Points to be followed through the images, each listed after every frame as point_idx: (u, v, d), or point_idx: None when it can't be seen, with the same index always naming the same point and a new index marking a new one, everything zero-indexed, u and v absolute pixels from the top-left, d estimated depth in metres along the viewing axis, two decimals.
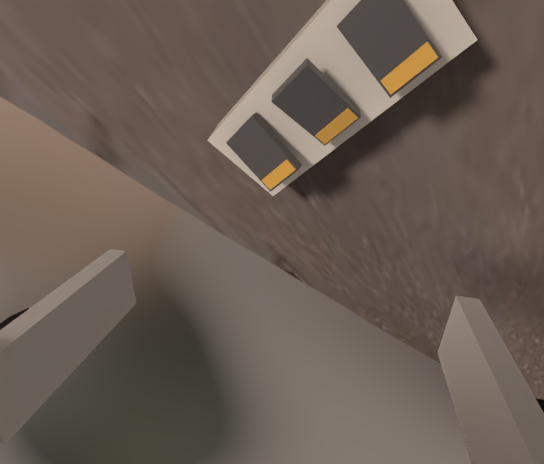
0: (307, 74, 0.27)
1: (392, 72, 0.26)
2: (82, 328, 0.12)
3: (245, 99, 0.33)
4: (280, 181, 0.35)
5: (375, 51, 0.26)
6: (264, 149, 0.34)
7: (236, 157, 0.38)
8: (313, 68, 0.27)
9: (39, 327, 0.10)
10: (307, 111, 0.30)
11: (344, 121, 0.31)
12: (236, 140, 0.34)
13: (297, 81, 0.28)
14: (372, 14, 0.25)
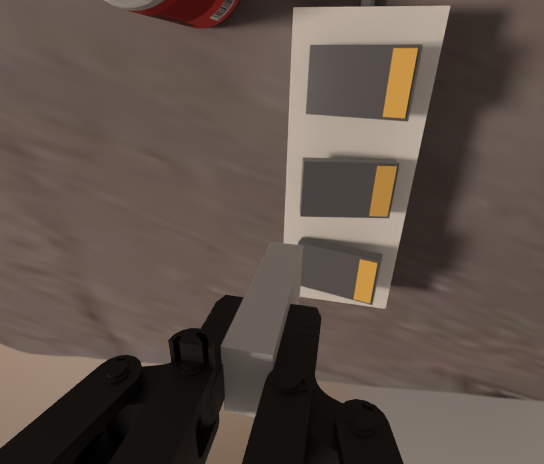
0: (311, 168, 0.24)
1: (386, 100, 0.22)
2: None
3: (285, 233, 0.30)
4: (372, 286, 0.28)
5: (354, 100, 0.23)
6: (331, 265, 0.28)
7: (318, 292, 0.32)
8: (313, 160, 0.25)
9: None
10: (341, 199, 0.26)
11: (386, 180, 0.25)
12: (302, 275, 0.30)
13: (307, 181, 0.25)
14: (325, 78, 0.23)
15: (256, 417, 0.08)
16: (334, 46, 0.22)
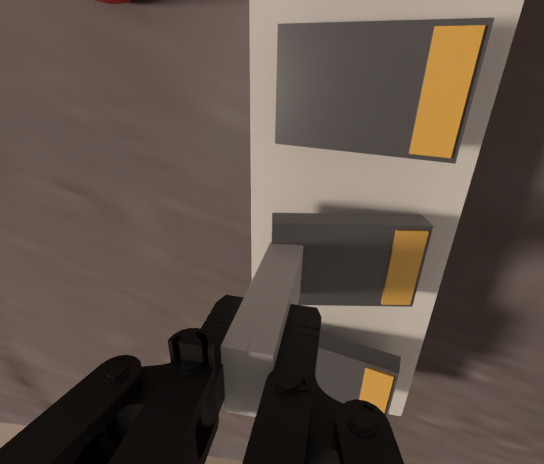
0: (285, 234, 0.15)
1: (417, 125, 0.12)
2: None
3: None
4: (385, 407, 0.18)
5: (357, 122, 0.13)
6: (321, 368, 0.19)
7: None
8: (288, 220, 0.15)
9: None
10: (335, 279, 0.16)
11: (409, 252, 0.15)
12: None
13: None
14: (307, 83, 0.13)
15: (257, 417, 0.08)
16: (321, 25, 0.12)
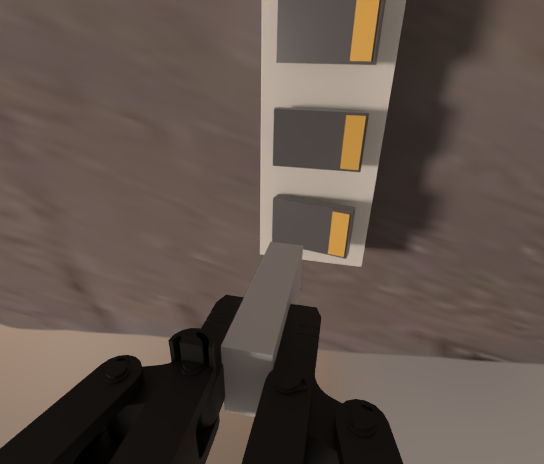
0: (281, 116, 0.25)
1: (353, 44, 0.22)
2: None
3: (261, 190, 0.31)
4: (345, 239, 0.28)
5: (322, 45, 0.23)
6: (305, 219, 0.29)
7: None
8: (283, 108, 0.25)
9: None
10: (311, 149, 0.26)
11: (355, 130, 0.25)
12: (278, 232, 0.30)
13: (278, 129, 0.26)
14: (294, 24, 0.23)
15: (256, 417, 0.08)
16: None
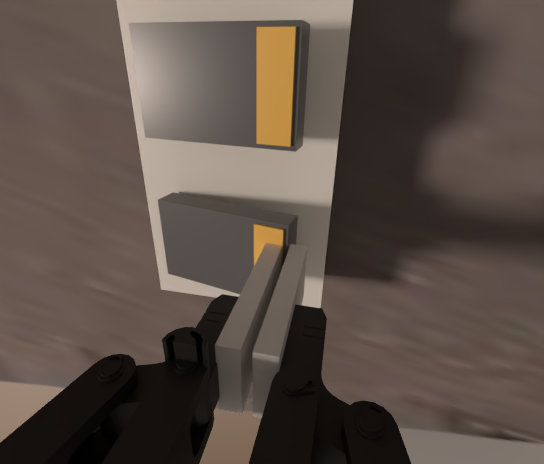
0: (143, 38, 0.13)
1: None
2: (267, 313, 0.13)
3: (147, 187, 0.18)
4: None
5: None
6: (213, 237, 0.16)
7: None
8: (149, 23, 0.13)
9: (258, 309, 0.11)
10: (202, 104, 0.13)
11: (277, 62, 0.12)
12: (175, 257, 0.18)
13: (142, 66, 0.14)
14: None
15: (263, 418, 0.08)
16: None
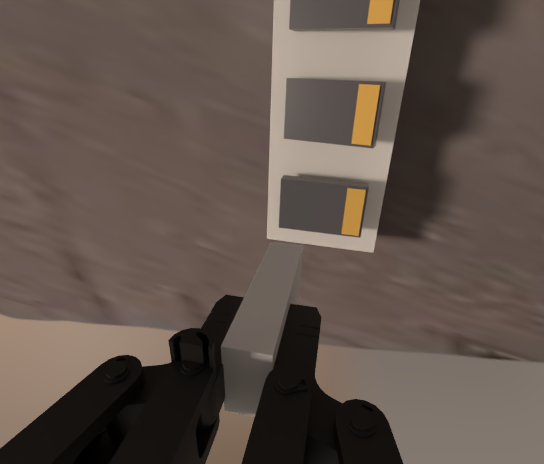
0: (293, 86, 0.25)
1: (371, 5, 0.21)
2: None
3: (270, 170, 0.29)
4: (361, 217, 0.27)
5: (338, 8, 0.22)
6: (317, 199, 0.27)
7: (304, 235, 0.31)
8: (297, 78, 0.25)
9: None
10: (322, 121, 0.25)
11: (368, 101, 0.23)
12: (286, 216, 0.28)
13: (290, 100, 0.25)
14: None
15: (256, 417, 0.08)
16: None
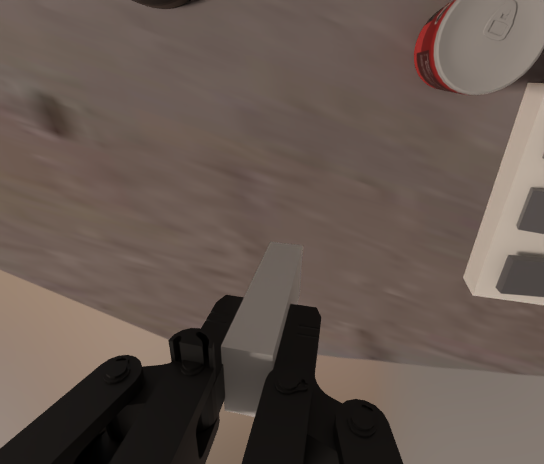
0: (538, 196, 0.34)
1: None
2: None
3: (491, 247, 0.38)
4: None
5: None
6: (539, 273, 0.36)
7: (506, 294, 0.40)
8: (540, 190, 0.34)
9: None
10: None
11: None
12: (510, 285, 0.37)
13: (532, 205, 0.34)
14: None
15: (256, 417, 0.08)
16: None
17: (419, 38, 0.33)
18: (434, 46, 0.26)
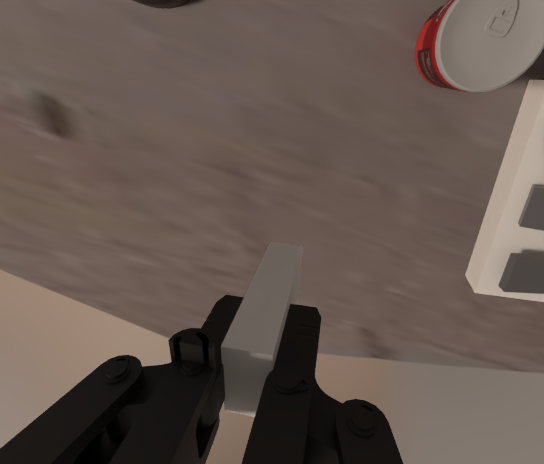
0: (539, 193, 0.34)
1: None
2: None
3: (493, 244, 0.38)
4: None
5: None
6: (542, 271, 0.36)
7: None
8: (542, 187, 0.34)
9: None
10: None
11: None
12: (513, 283, 0.37)
13: (533, 201, 0.34)
14: None
15: (256, 417, 0.08)
16: None
17: (420, 36, 0.33)
18: (435, 43, 0.26)
